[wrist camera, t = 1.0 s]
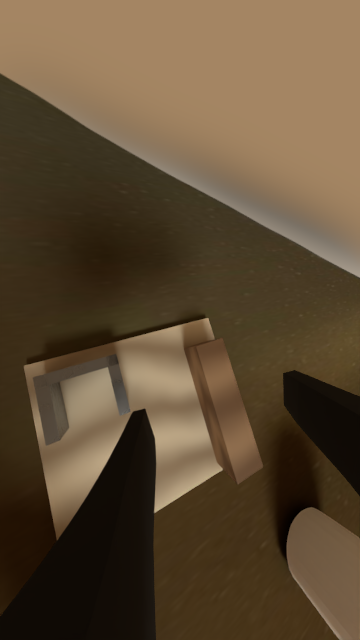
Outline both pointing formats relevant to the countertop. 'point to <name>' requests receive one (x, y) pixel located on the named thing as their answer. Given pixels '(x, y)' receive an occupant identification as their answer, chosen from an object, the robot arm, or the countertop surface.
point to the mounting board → (127, 417)
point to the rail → (223, 409)
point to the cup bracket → (53, 399)
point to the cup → (327, 569)
